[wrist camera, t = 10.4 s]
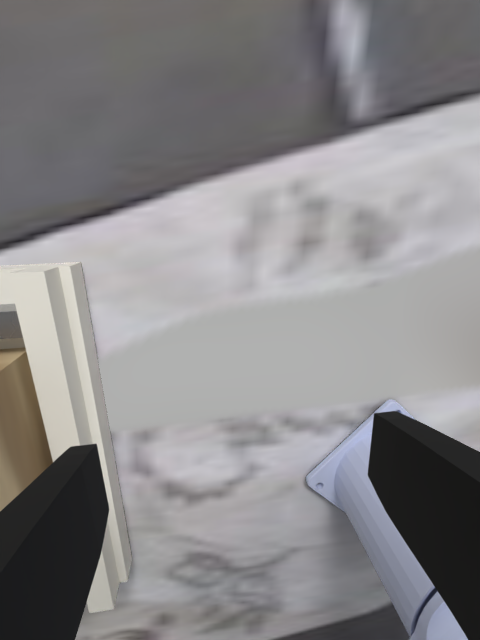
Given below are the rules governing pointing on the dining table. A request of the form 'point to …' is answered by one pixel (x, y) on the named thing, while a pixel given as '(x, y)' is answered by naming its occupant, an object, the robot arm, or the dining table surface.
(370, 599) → the dining table surface
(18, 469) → the beige rectangular panel
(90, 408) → the cream rectangular frame
